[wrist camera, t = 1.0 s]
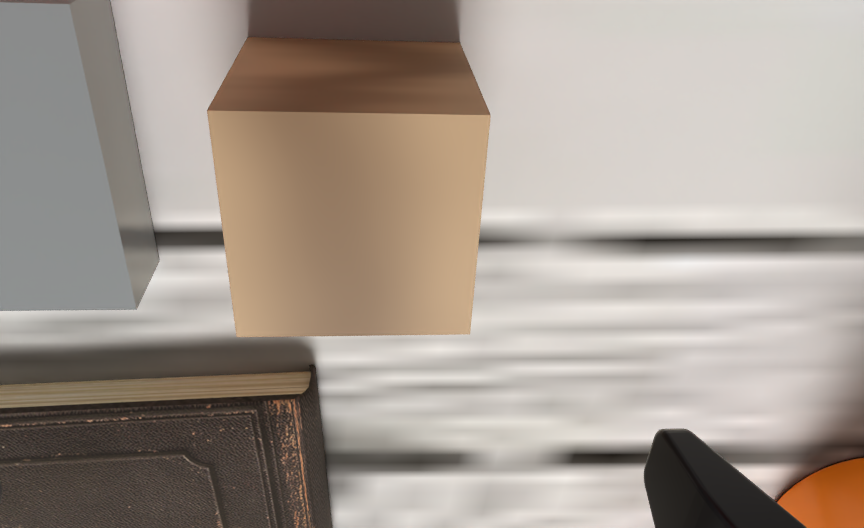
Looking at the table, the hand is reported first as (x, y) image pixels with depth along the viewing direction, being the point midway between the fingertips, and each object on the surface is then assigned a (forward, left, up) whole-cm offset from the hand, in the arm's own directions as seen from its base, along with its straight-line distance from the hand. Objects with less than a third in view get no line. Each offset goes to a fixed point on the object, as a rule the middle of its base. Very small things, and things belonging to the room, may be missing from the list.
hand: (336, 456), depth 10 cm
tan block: (0, 0, -12) cm, 12 cm away
